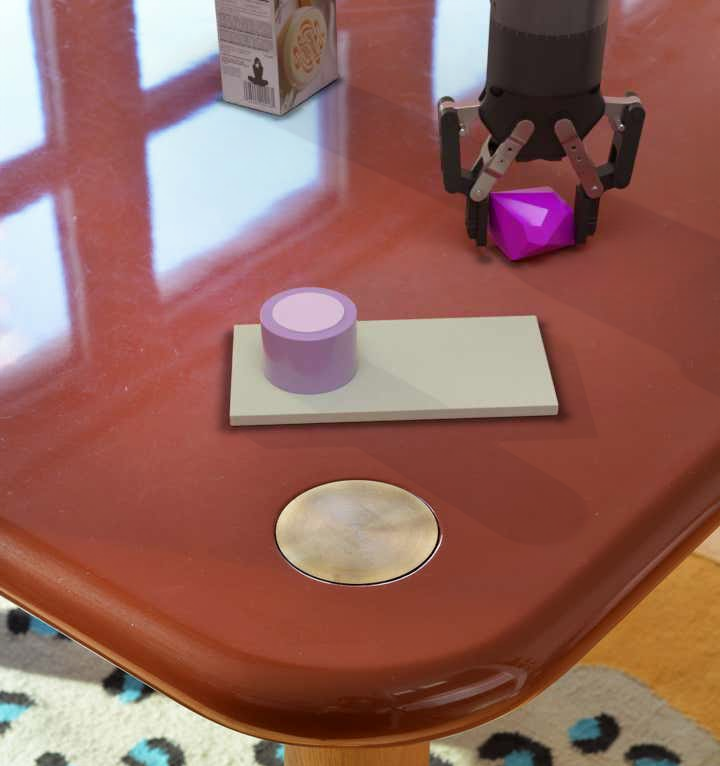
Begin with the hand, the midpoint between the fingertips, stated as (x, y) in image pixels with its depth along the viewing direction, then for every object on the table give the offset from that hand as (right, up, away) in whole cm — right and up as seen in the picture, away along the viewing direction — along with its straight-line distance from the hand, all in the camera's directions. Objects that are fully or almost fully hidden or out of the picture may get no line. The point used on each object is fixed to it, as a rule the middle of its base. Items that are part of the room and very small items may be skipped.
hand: (529, 239), depth 97 cm
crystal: (0, -1, +1) cm, 1 cm away
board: (-10, -11, -11) cm, 19 cm away
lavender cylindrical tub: (-15, -11, -12) cm, 22 cm away
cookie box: (-19, +18, +21) cm, 33 cm away
